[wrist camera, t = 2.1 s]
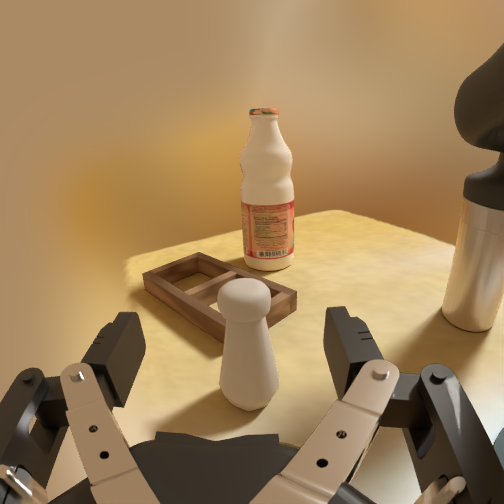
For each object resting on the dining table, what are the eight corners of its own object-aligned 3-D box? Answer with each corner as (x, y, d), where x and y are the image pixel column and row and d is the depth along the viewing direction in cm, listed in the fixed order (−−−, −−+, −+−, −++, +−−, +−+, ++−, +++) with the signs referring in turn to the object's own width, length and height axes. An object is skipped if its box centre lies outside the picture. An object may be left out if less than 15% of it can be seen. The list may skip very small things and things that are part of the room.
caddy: (200, 266, 60) (198, 251, 58) (296, 309, 45) (296, 291, 44) (145, 289, 52) (142, 273, 51) (234, 350, 37) (232, 330, 36)
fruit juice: (234, 261, 61) (224, 111, 51) (270, 248, 67) (265, 110, 56) (267, 277, 54) (261, 106, 44) (304, 261, 60) (303, 108, 49)
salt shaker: (224, 421, 27) (206, 308, 22) (219, 380, 32) (204, 273, 27) (284, 412, 28) (288, 299, 23) (273, 374, 33) (271, 266, 28)
